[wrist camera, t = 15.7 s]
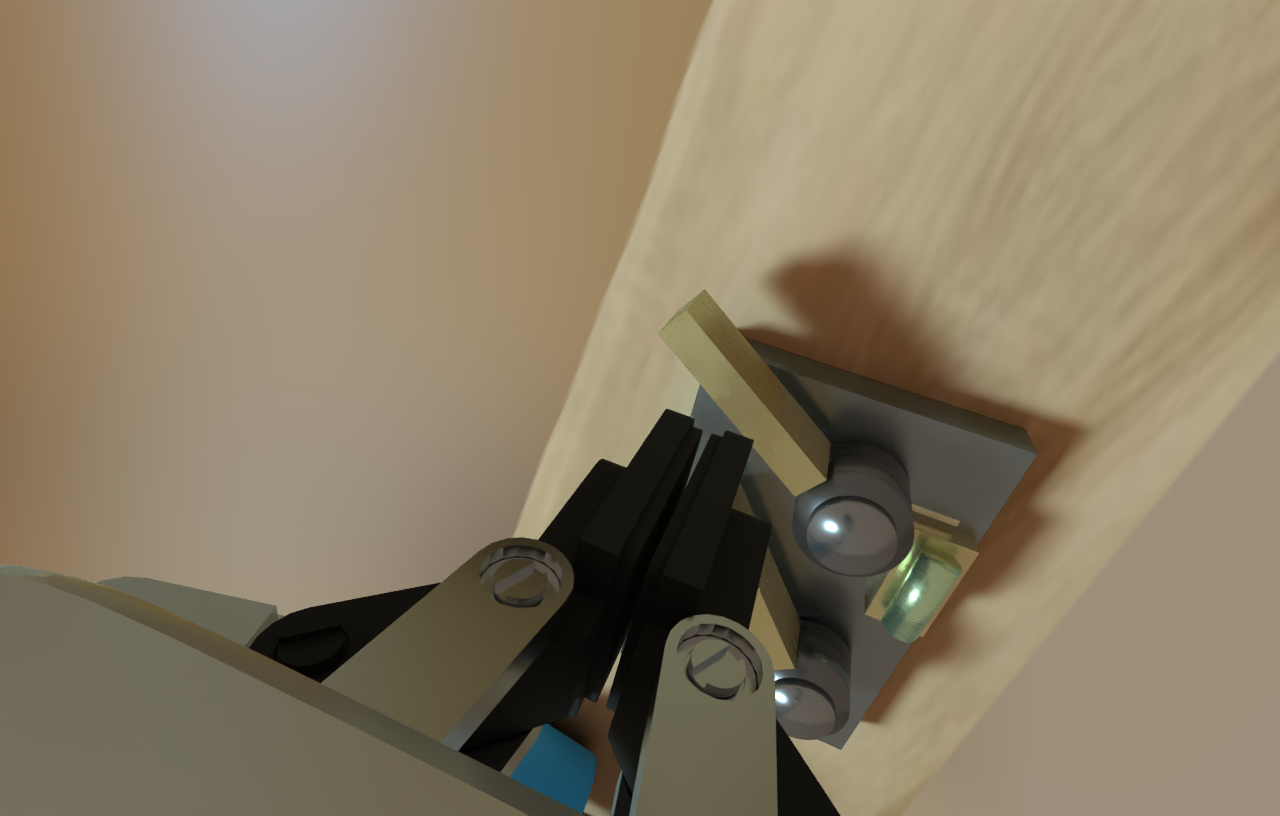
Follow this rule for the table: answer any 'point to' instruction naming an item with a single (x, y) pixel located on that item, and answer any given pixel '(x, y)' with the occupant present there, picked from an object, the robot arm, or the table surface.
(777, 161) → the table surface
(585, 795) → the alarm clock
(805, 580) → the control panel
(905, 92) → the table surface
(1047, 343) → the table surface
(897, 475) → the knob
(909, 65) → the table surface
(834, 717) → the knob
